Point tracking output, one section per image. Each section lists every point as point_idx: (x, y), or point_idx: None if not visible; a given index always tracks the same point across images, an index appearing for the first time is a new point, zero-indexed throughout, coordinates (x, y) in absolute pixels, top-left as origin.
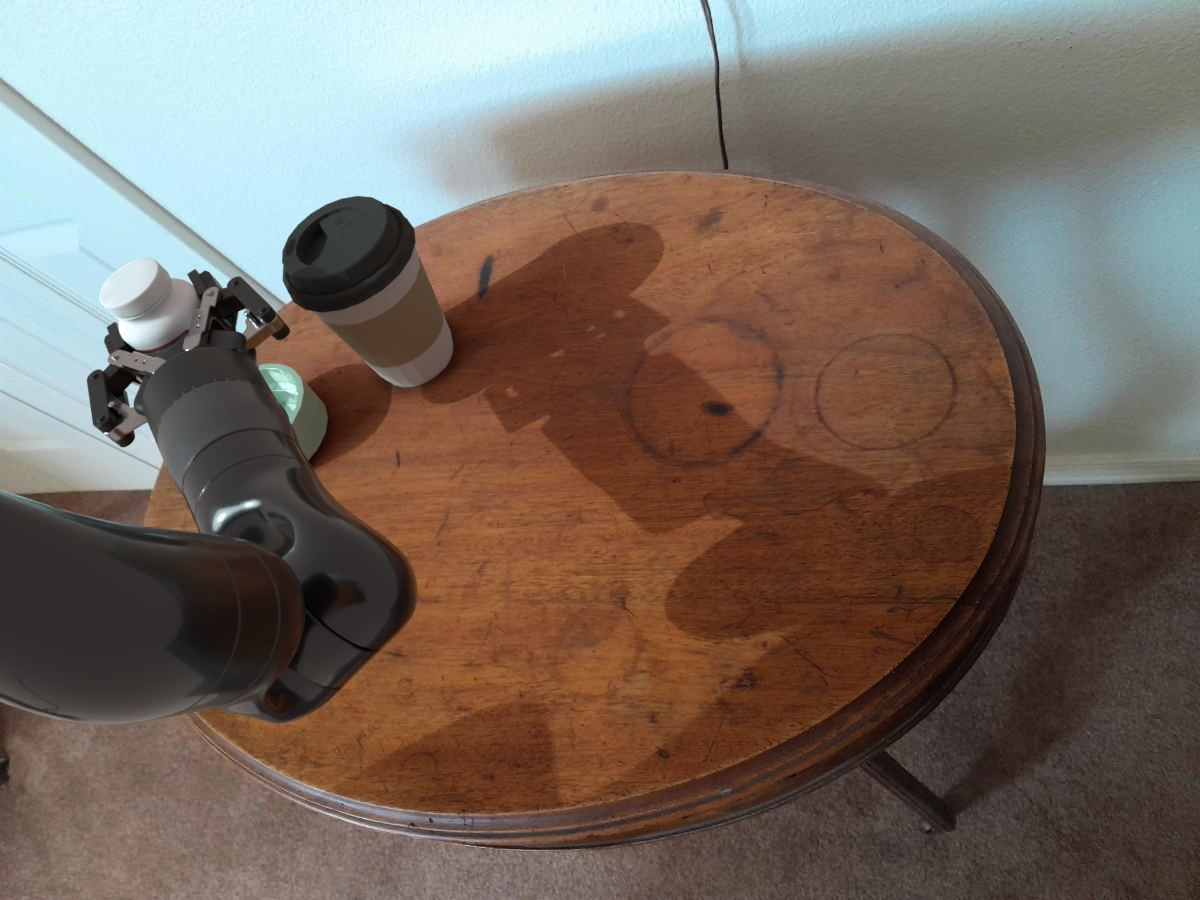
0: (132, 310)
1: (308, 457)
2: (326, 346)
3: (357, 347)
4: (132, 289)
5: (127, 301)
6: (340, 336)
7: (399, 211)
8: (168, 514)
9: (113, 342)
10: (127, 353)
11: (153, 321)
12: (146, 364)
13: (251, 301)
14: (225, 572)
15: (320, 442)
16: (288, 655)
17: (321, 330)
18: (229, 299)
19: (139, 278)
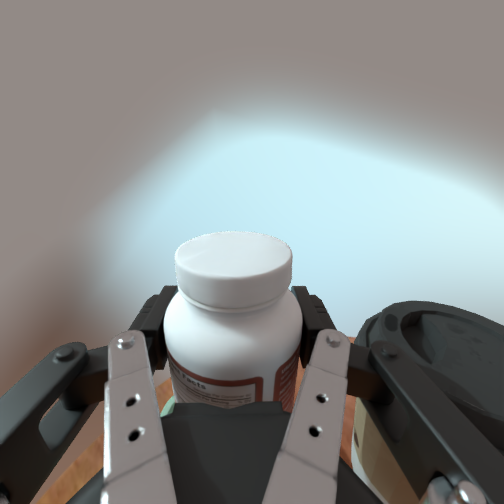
0: (208, 293)
1: None
2: (300, 383)
3: (386, 471)
4: (234, 261)
5: (213, 274)
6: (373, 443)
7: None
8: (95, 456)
9: (150, 312)
10: (144, 353)
11: (223, 330)
12: (132, 453)
13: (472, 454)
14: None
15: None
16: None
17: (299, 365)
18: (360, 373)
19: (253, 253)
